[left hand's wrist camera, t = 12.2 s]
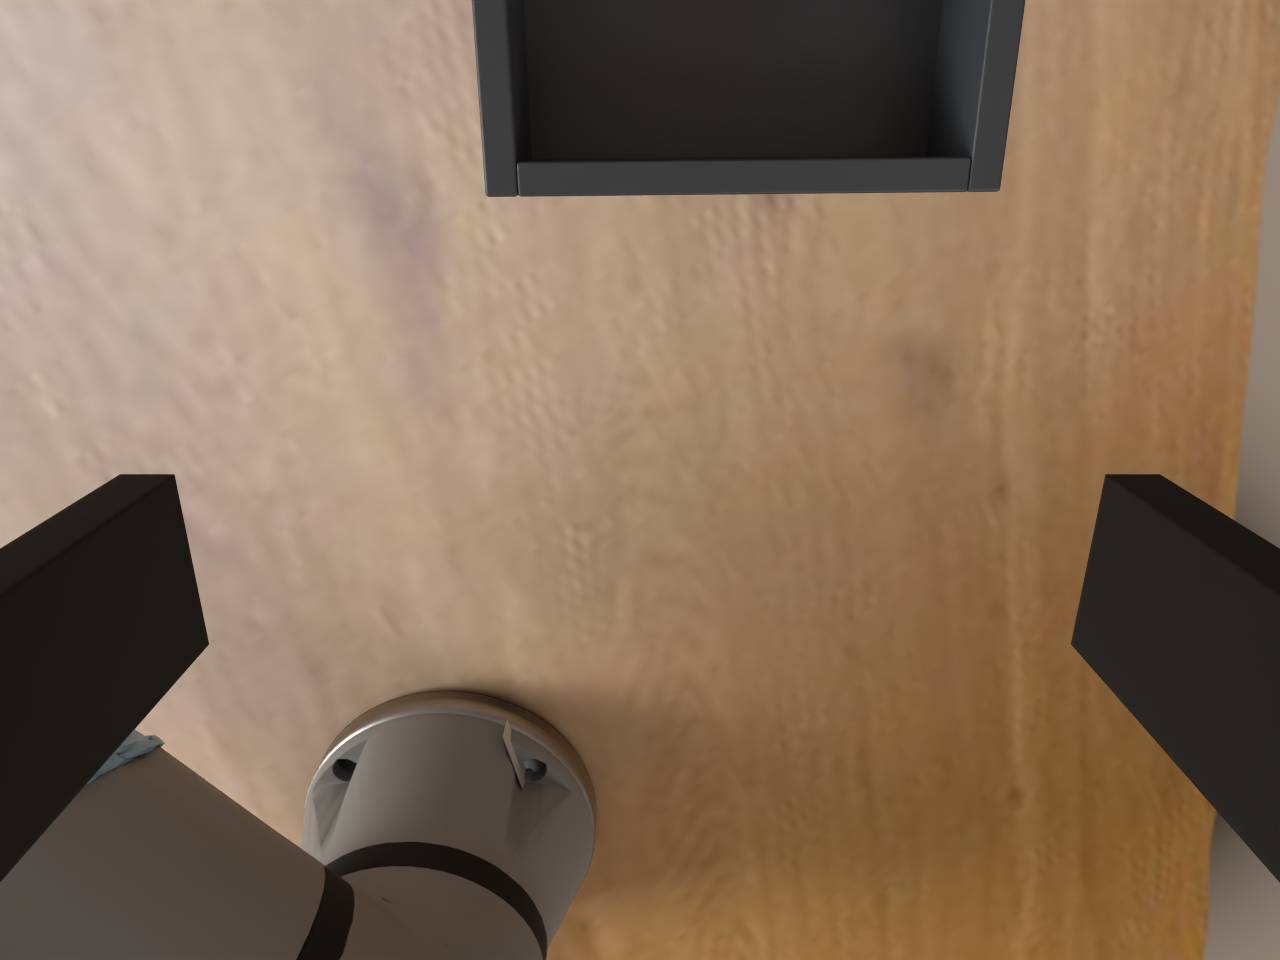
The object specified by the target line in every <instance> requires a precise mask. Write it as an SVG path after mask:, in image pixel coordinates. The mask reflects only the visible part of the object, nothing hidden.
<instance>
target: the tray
mask: <svg viewBox="0 0 1280 960" xmlns="http://www.w3.org/2000/svg"><path fill="white" fill-rule="evenodd" d="M1024 6H1025V0H472V8H473V23H474V37H475V51H476V65H477V79H478V93H479V108H480V122H481V136H482V150H483V164H484V178H485V192H486V195H487V196H488V197H515V196H517V195H519V196H521V197H522V196H619V195H715V194H811V193H908V192H965V191H968V192H997V191H999V190H1000V185H1001V177H1002V170H1003V162H1004V155H1005V147H1006V140H1007V132H1008V125H1009V118H1010V110H1011V103H1012V95H1013V88H1014V80H1015V73H1016V65H1017V58H1018V51H1019V43H1020V36H1021V28H1022V21H1023V13H1024Z"/></svg>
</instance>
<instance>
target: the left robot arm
mask: <svg viewBox="0 0 1280 960" xmlns="http://www.w3.org/2000/svg"><path fill="white" fill-rule="evenodd" d="M208 645H209V642H208V637H207V632H206V627H205V622H204V617H203V612H202V607H201V602H200V598H199V593H198V588H197V583H196V578H195V573H194V568H193V563H192V558H191V553H190V548H189V544H188V539H187V534H186V529H185V524H184V519H183V514H182V509H181V504H180V499H179V494H178V490H177V485H176V480H175V475H174V474H120V475H118V476H117V477H115V478H114V479H112V480H110V481H109V482H107V483H105V484H104V485H102V486H101V487H99V488H97V489H96V490H94V491H93V492H91V493H89V494H88V495H86V496H85V497H83V498H81V499H80V500H78V501H76V502H75V503H73V504H72V505H70V506H68V507H67V508H65V509H64V510H62V511H60V512H59V513H57V514H55V515H54V516H52V517H51V518H49V519H47V520H46V521H44V522H43V523H41V524H39V525H38V526H36V527H35V528H33V529H31V530H30V531H28V532H26V533H25V534H23V535H22V536H20V537H18V538H17V539H15V540H14V541H12V542H10V543H9V544H7V545H5V546H4V547H2V548H1V549H0V960H546V956H547V949H548V947H549V945H550V943H551V941H552V939H553V937H554V935H555V933H556V931H557V929H558V927H559V925H560V923H561V921H562V919H563V918H564V916H565V914H566V912H567V910H568V908H569V906H570V904H571V902H572V900H573V898H574V896H575V894H576V892H577V890H578V888H579V886H580V884H581V883H582V881H583V879H584V877H585V875H586V873H587V871H588V868H589V866H590V862H591V859H592V856H593V850H594V842H595V827H596V799H595V794H594V789H593V786H592V783H591V780H590V777H589V775H588V772H587V770H586V768H585V766H584V764H583V763H582V761H581V759H580V758H579V756H578V755H577V753H576V752H575V751H574V749H573V748H572V747H571V745H570V744H569V743H568V742H567V741H566V740H565V739H564V738H563V737H562V736H561V735H560V734H559V733H558V732H557V731H555V730H554V729H553V728H552V727H551V726H549V725H548V724H547V723H545V722H544V721H543V720H541V719H540V718H538V717H536V716H535V715H533V714H531V713H530V712H528V711H526V710H524V709H522V708H520V707H518V706H515V705H513V704H510V703H508V702H505V701H502V700H499V699H496V698H492V697H489V696H484V695H479V694H475V693H467V692H456V691H435V692H424V693H417V694H412V695H407V696H403V697H400V698H396V699H393V700H390V701H388V702H385V703H383V704H380V705H378V706H376V707H374V708H372V709H370V710H369V711H367V712H365V713H364V714H362V715H361V716H359V717H358V718H356V719H355V720H354V721H353V722H351V723H350V724H349V725H348V726H347V727H346V728H345V729H344V730H343V731H342V732H341V733H340V734H339V735H338V736H337V737H336V739H335V740H334V741H333V743H332V744H331V745H330V747H329V749H328V751H327V752H326V754H325V756H324V758H323V760H322V762H321V764H320V765H319V767H318V769H317V771H316V773H315V775H314V777H313V779H312V781H311V784H310V786H309V789H308V792H307V796H306V800H305V806H304V824H303V841H302V849H301V848H300V847H298V846H297V845H295V844H294V843H292V842H291V841H289V840H288V839H287V838H285V837H284V836H282V835H281V834H279V833H278V832H276V831H275V830H274V829H272V828H271V827H270V826H268V825H267V824H265V823H264V822H263V821H261V820H260V819H259V818H257V817H256V816H254V815H253V814H252V813H250V812H249V811H247V810H246V809H245V808H243V807H242V806H241V805H239V804H238V803H236V802H235V801H234V800H232V799H231V798H230V797H228V796H227V795H225V794H224V793H223V792H221V791H220V790H219V789H217V788H216V787H214V786H213V785H212V784H210V783H209V782H208V781H206V780H205V779H203V778H202V777H201V776H199V775H198V774H196V773H195V772H194V771H192V770H191V769H190V768H188V767H187V766H185V765H184V764H183V763H181V762H180V761H179V760H177V759H176V758H174V757H173V756H172V755H170V754H169V753H168V752H166V751H165V750H163V749H162V748H161V746H162V745H163V744H164V742H163V741H162V740H161V739H160V738H158V737H157V736H155V735H151V736H144V735H143V734H141V733H139V732H138V731H136V730H135V728H136V727H137V726H138V725H139V723H140V722H141V721H142V720H143V719H144V718H145V717H146V716H147V714H148V713H149V712H150V711H151V710H152V709H153V708H154V706H155V705H156V704H157V703H158V702H159V701H160V700H161V698H162V697H163V696H164V695H165V694H166V693H167V692H168V690H169V689H170V688H171V687H172V686H173V685H174V684H175V682H176V681H177V680H178V679H179V678H180V677H181V676H182V674H183V673H184V672H185V671H186V670H187V669H188V668H189V666H190V665H191V664H192V663H193V662H194V661H195V660H196V658H197V657H198V656H199V655H200V654H201V653H202V652H203V650H204V649H205V648H206V647H207V646H208ZM1071 645H1072V646H1073V647H1074V648H1075V649H1076V650H1077V652H1078V653H1079V654H1080V655H1081V656H1082V657H1083V658H1084V660H1085V661H1086V662H1087V663H1088V664H1089V665H1090V666H1091V668H1092V669H1093V670H1094V671H1095V672H1096V673H1097V674H1098V676H1099V677H1100V678H1101V679H1102V680H1103V681H1104V682H1105V684H1106V685H1107V686H1108V687H1109V688H1110V689H1111V690H1112V692H1113V693H1114V694H1115V695H1116V696H1117V697H1118V698H1119V700H1120V701H1121V702H1122V703H1123V704H1124V705H1125V706H1126V708H1127V709H1128V710H1129V711H1130V712H1131V713H1132V714H1133V716H1134V717H1135V718H1136V719H1137V720H1138V721H1139V722H1140V723H1141V725H1142V726H1143V727H1144V728H1145V729H1146V730H1147V731H1148V733H1149V734H1150V735H1151V736H1152V737H1153V738H1154V739H1155V741H1156V742H1157V743H1158V744H1159V745H1160V746H1161V747H1162V749H1163V750H1164V751H1165V752H1166V753H1167V754H1168V755H1169V757H1170V758H1171V759H1172V760H1173V761H1174V762H1175V763H1176V765H1177V766H1178V767H1179V768H1180V769H1181V770H1182V771H1183V773H1184V774H1185V775H1186V776H1187V777H1188V778H1189V779H1190V781H1191V782H1192V783H1193V784H1194V785H1195V786H1196V787H1197V789H1198V790H1199V791H1200V792H1201V793H1202V794H1203V795H1204V797H1205V798H1206V799H1207V800H1208V801H1209V802H1210V803H1211V805H1212V806H1213V807H1214V808H1215V809H1216V810H1217V811H1218V813H1219V814H1220V815H1221V816H1222V817H1223V818H1224V819H1225V821H1226V822H1227V823H1228V824H1229V825H1230V826H1231V827H1232V828H1233V830H1234V831H1235V832H1236V833H1237V834H1238V835H1239V836H1240V838H1241V839H1242V840H1243V841H1244V842H1245V843H1246V845H1247V846H1248V847H1249V848H1250V849H1251V850H1252V851H1253V852H1254V854H1255V855H1256V856H1257V857H1258V858H1259V859H1260V860H1261V862H1262V863H1263V864H1264V865H1265V866H1266V867H1267V868H1268V870H1269V871H1270V872H1271V873H1272V874H1273V875H1274V876H1275V878H1276V879H1277V880H1278V881H1279V882H1280V549H1279V548H1278V547H1276V546H1275V545H1273V544H1271V543H1270V542H1268V541H1266V540H1265V539H1263V538H1262V537H1260V536H1258V535H1257V534H1255V533H1253V532H1252V531H1250V530H1249V529H1247V528H1245V527H1244V526H1242V525H1241V524H1239V523H1237V522H1236V521H1234V520H1233V519H1231V518H1229V517H1228V516H1226V515H1225V514H1223V513H1221V512H1220V511H1218V510H1216V509H1215V508H1213V507H1212V506H1210V505H1208V504H1207V503H1205V502H1204V501H1202V500H1200V499H1199V498H1197V497H1195V496H1194V495H1192V494H1191V493H1189V492H1187V491H1186V490H1184V489H1183V488H1181V487H1179V486H1178V485H1176V484H1175V483H1173V482H1171V481H1170V480H1168V479H1166V478H1165V477H1163V476H1162V475H1160V474H1106V475H1105V480H1104V485H1103V490H1102V494H1101V499H1100V504H1099V509H1098V514H1097V519H1096V524H1095V529H1094V534H1093V539H1092V544H1091V548H1090V553H1089V558H1088V563H1087V568H1086V573H1085V578H1084V583H1083V588H1082V593H1081V598H1080V602H1079V607H1078V612H1077V617H1076V622H1075V627H1074V632H1073V637H1072V642H1071Z"/></svg>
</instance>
